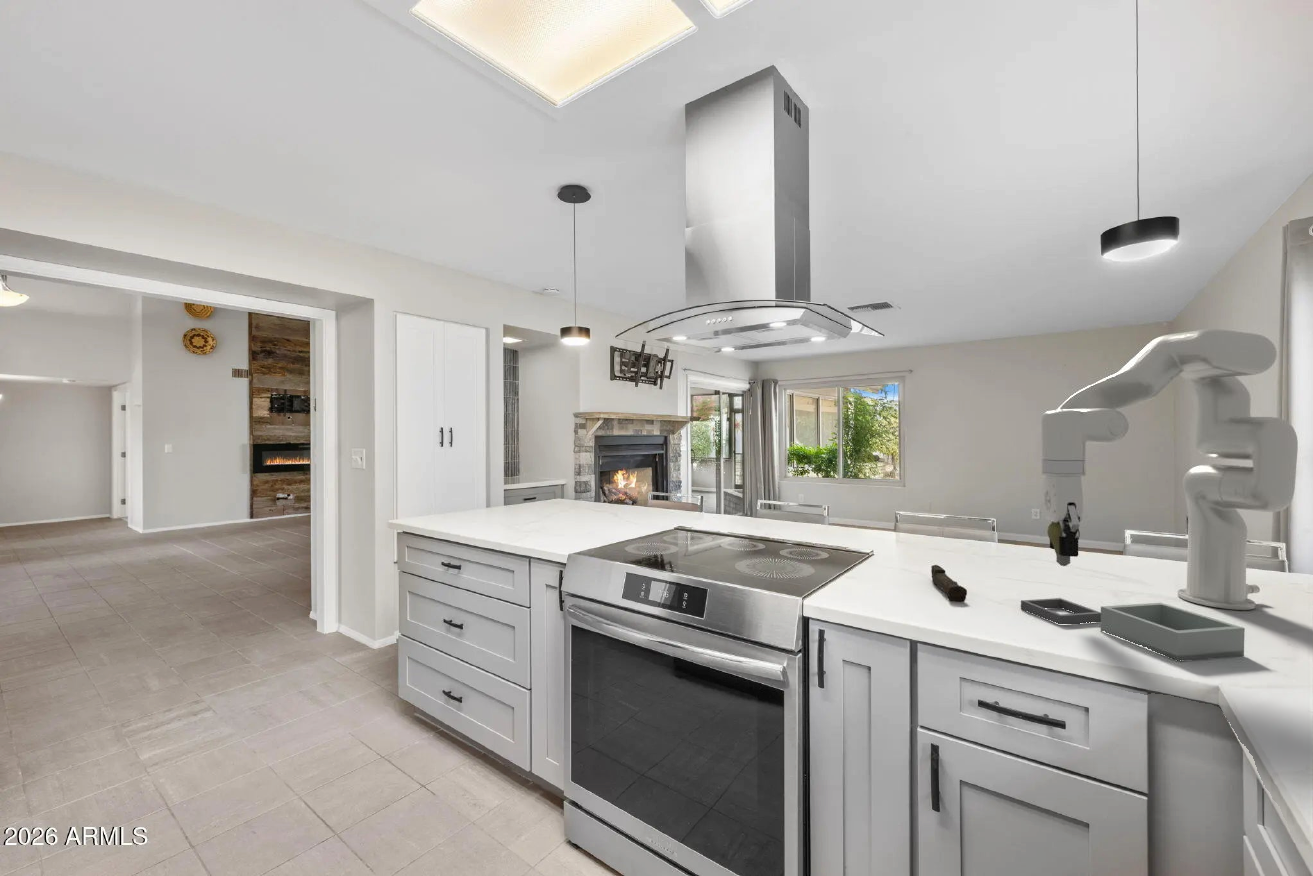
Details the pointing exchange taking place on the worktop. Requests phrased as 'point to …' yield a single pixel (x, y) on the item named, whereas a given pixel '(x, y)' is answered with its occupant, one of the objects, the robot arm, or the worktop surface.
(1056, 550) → the light bulb
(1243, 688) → the worktop surface
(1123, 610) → the bin
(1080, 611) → the bulb holder
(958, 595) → the hand tool
